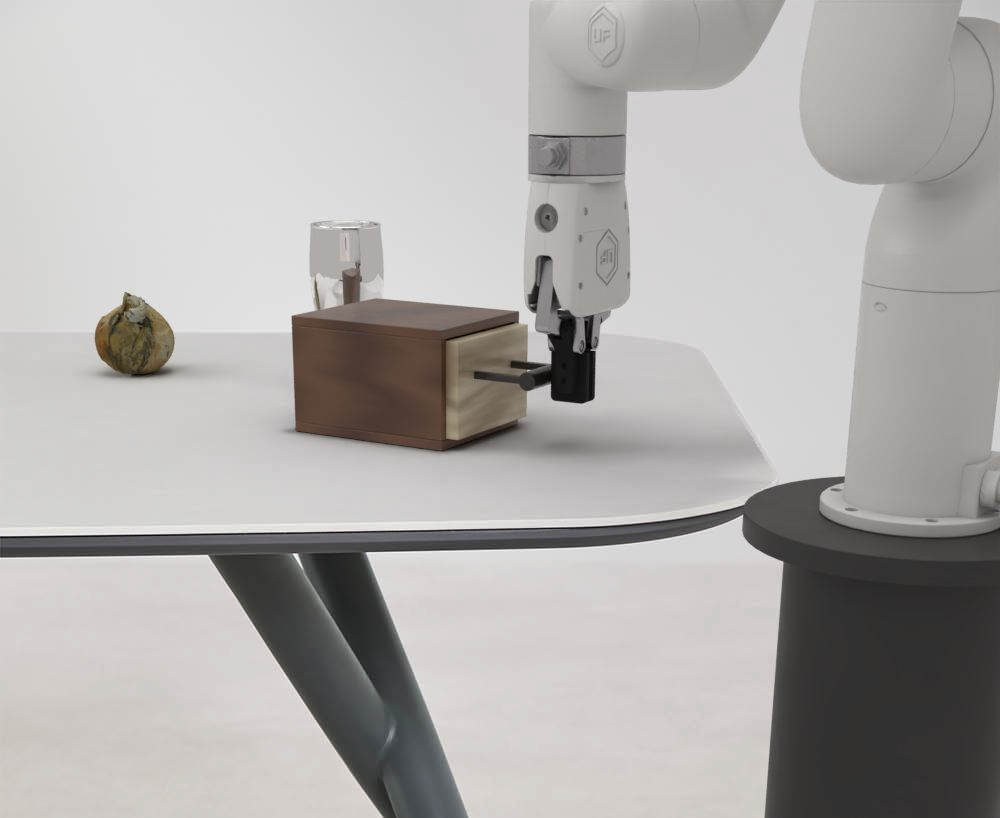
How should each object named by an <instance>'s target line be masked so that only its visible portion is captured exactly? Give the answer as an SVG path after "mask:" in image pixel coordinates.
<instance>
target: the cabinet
mask: <svg viewBox="0 0 1000 818" xmlns="http://www.w3.org/2000/svg"><path fill="white" fill-rule="evenodd" d="M515 323H520V311H518V310H510V309H499V308H498V309H497V308H487V307H476V306H465V305H455V304H443V303H431V302H423V301H422V302H421V301H410V300H401V299H399V300H398V299H389V298H383V299H379V298H375V299H370V300H365V301H360V302H355V303H350V304H346V305H341V306H336V307H331V308H326V309H321V310H316V311H315V310H312V311H308V312H303V313H298V314H292V315H291V342H292V343H291V344H292V367H293V368H292V369H293V394H294V421H295V425H294V426H295V431H296V432H302V433H309V434H315V435H322V436H331V437H336V438H337V437H338V438H345V439H353V440H359V441H366V442H374V443H381V444H387V445H396V446H401V447H402V446H403V447H409V448H418V449H425V450H432V451H440V452H442V451H445V450H447V449H451V448H453V447H456V446H460V445H463V444H465V443H467V442H471V441H473V440H476V439H480V438H482V437H485V436H488V435H490V434H494V433H496V432H498V431H502V430H505V429H508V428H510V427H514V426H517V425H518V424H519V422H518V421H519V419H517V420H514V421H511V422H509V423H506V424H503V425H500V426H497V427H494V428H491V429H489V430H486V431H483V432H480V433H477V434H474V435H471V436H469V437H466V438H463V439H460V440H453V439H446V340H445V339H449V338H453V337H457V336H461V335H465V334H469V333H473V332H477V331H480V330H484V329H488V328H492V327H496V326H498V328H499V327H503V326H507V325H511V324H515Z"/></svg>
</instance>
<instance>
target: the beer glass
mask: <svg viewBox="0 0 1000 818" xmlns="http://www.w3.org/2000/svg"><path fill="white" fill-rule="evenodd" d="M309 226H310V232H309V233H310V234H309V255H308V259H309V260H308V261H309V262H308V263H309V265H308V266H309V270H308V271H309V284H310V292H311V299H312V304H313V309H314V311H316V310H321V309H326V308H331V307H336V306H341V305H346V304H350V303H355V302H360V301H365V300H370V299H375V298H379V299H384V298H383V297H384V288H385V287H384V286H385V258H384V247H383V236H382V224H381V222H378V221H372V220H371V221H370V220H358V219H357V220H356V219H355V220H353V219H351V220H349V219H346V220H344V219H342V220H341V219H338V220H321V221H320V220H319V221H314V222H313V221H312V222H311V223H310V224H309Z"/></svg>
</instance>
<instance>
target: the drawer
mask: <svg viewBox="0 0 1000 818" xmlns="http://www.w3.org/2000/svg"><path fill="white" fill-rule="evenodd" d="M528 336H529V324H528V323H521V322H519V323H515V324H511V325H507V326H503V327H499V328H498V326H496V327H492V328H488V329H484V330H480V331H477V332H473V333H469V334H465V335H461V336H457V337H453V338H449V339H445V340H446V439H453V440H460V439H463V438H466V437H469V436H471V435H474V434H477V433H480V432H483V431H486V430H489V429H491V428H494V427H497V426H500V425H503V424H506V423H509V422H511V421H514V420H517V419H518V420H519V419H522V418H526V417H527V409H528V392H531V391H534V390H538V389H541V388H543V387H546V386H549V385H551V363H547V362H546V363H545V362H535V361H528V353H529V352H528V347H529V345H528V344H529V343H528V341H529V337H528Z"/></svg>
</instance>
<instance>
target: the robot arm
mask: <svg viewBox="0 0 1000 818" xmlns="http://www.w3.org/2000/svg"><path fill="white" fill-rule="evenodd" d="M785 2H786V0H530V3H529V9H528V88H527V89H528V90H527V91H528V92H527V93H528V101H527V104H528V105H527V108H528V109H527V113H528V114H527V115H528V116H527V134H528V136H527V181H528V182H529V181H530V187H529V193H528V200H527V201H528V202H527V209H526V219H525V220H526V221H525V233H524V234H525V235H524V248H523V249H524V251H523V295H524V296H523V298H524V304H525V307H526V308H527V309H528V311H530V312H531V313H533V314H535V321H534V329H535V331H536V332H537V333H541V334H544V335H546V337H547V348H548V350H549V351H550V364H551V384H550V399H551V400H552V401H554V402H561V403H571V404H580V405H583V404H586V403H588V402H592V401H594V400H595V398H596V363H597V362H596V361H597V360H596V359H597V355H596V354H597V349H598V347H599V344H600V333H601V326H602V324H603V323H604V322H605V321H606V320H607V319H609V318H610V317H611V313H612V310H616V309H619V308H621V307H623V306H624V305H625V304H626V303H627V302H628V301H629V299H630V295H631V233H630V232H631V231H630V214H629V213H630V212H629V203H628V194H627V193H628V192H627V187H626V182H625V181H626V169H627V166H626V165H627V131H628V129H627V127H628V95H629V93H631V92H632V93H648V92H649V93H650V92H651V93H652V92H653V93H655V92H657V93H658V92H664V91H666V92H667V91H705V90H707V91H708V90H715V89H719V88H721V87H723V86H726V85H728V84H730V83H732V82H733V81H734V80H736V79H737V78H738V77H739V76H740V75H741V74H742V73H744V71H745V70H746V69H747V67H748V66H749V65H750V64H751V62H752V61H753V60H754V59H755V58H756V56H757V54H758V52H759V51H760V50H761V48H762V46H763V44H764V43H765V41H766V38H768V35H769V34H770V32H771V30H772V28H773V25H774V24H775V22H776V20H777V18H778V16H779V14H780V12H781V11H782V9H783V6H784V4H785ZM962 4H963V0H814V4H813V10H812V14H811V20H810V26H809V31H808V37H807V42H806V47H805V52H804V57H803V62H802V70H801V77H800V85H799V103H798V104H799V105H798V106H799V118H800V119H799V120H800V126H801V130H802V134H803V137H804V141H805V145H806V146H807V148H808V151H809V152H810V154H811V155H812V157H813V158H814V160H815V162H817V164H818V165H819V166H820V167H821V168H823V170H824V171H826V172H827V173H828V174H830V175H831V176H833V177H835V178H836V179H839V180H841V181H843V182H847V183H851V184H856V185H863V186H867V185H868V186H877V185H878V186H879V185H883V187H882V190H881V192H880V194H879V197H878V199H877V202H876V205H875V208H874V211H873V214H872V218H871V220H870V223H869V228H868V233H867V237H866V242H865V248H864V255H863V265H862V276H861V287H860V298H859V307H858V308H859V310H858V318H857V319H858V320H857V322H858V323H857V331H856V342H855V343H856V344H855V353H854V354H855V355H854V366H853V377H852V390H851V401H850V413H849V424H848V436H847V447H846V449H847V450H846V459H845V471H844V476H845V481H844V483H842V484H837V485H834V486H832V487H829V488H827V489H826V490H825V491H823V492H822V493H821V495H820V506H819V510H820V512H821V513H822V514H823V516H825V517H826V518H828V519H829V520H831V521H833V522H835V523H837V524H840V525H843V526H846V527H849V528H853V529H857V530H861V531H865V532H871V533H877V534H882V535H891V536H899V537H912V538H958V537H969V536H975V535H981V534H985V533H989V532H992V531H995V530H997V529H999V528H1000V451H996V450H992V447H993V439H994V438H993V437H994V429H995V423H996V422H995V421H996V413H997V406H998V405H997V403H998V395H999V389H1000V388H999V387H1000V22H998V21H995V20H992V19H988V18H983V17H982V18H981V17H977V16H976V17H975V16H960V13H961V8H962Z"/></svg>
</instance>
